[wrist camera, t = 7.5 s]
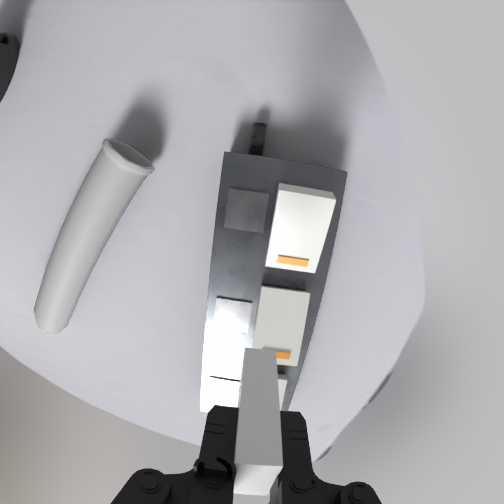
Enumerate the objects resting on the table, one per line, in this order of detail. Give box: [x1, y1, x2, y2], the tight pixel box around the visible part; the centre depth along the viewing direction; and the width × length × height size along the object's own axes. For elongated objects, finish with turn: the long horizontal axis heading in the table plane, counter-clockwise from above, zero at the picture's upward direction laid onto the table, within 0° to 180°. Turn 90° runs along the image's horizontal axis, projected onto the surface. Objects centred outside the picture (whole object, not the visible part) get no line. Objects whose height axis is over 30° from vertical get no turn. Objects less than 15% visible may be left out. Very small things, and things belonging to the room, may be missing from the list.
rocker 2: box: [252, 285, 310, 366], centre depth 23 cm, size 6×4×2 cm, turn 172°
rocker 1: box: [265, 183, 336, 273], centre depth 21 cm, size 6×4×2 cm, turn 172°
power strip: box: [200, 123, 347, 412], centre depth 26 cm, size 31×10×4 cm, turn 172°
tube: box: [34, 138, 154, 334], centre depth 26 cm, size 5×5×25 cm
